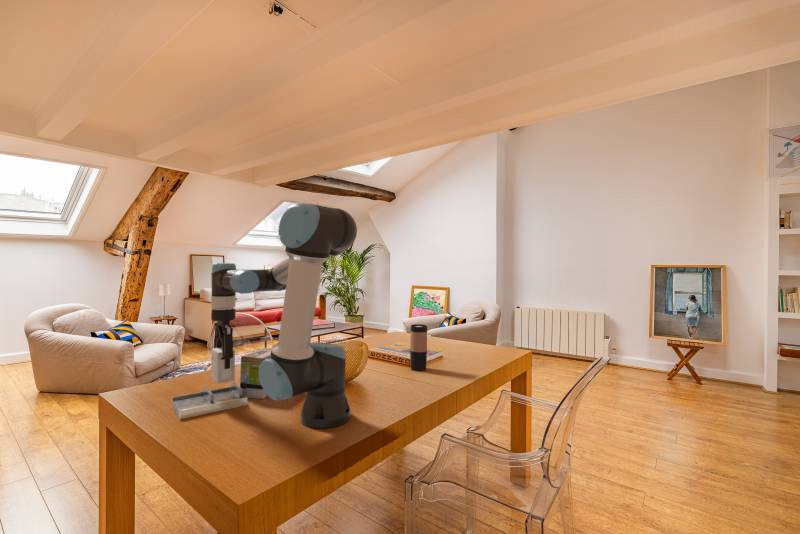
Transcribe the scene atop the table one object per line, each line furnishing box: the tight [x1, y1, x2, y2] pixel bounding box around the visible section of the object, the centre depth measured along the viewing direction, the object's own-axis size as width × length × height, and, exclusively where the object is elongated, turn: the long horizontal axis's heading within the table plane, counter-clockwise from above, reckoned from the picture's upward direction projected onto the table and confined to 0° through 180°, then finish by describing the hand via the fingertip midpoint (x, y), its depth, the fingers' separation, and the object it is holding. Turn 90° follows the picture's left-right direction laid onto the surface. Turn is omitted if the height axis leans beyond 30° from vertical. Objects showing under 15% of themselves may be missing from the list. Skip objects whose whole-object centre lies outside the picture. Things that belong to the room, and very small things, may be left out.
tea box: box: [239, 347, 272, 400], centre depth 143 cm, size 15×10×15 cm, turn 168°
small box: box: [210, 347, 236, 385], centre depth 131 cm, size 8×6×10 cm
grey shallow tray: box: [171, 381, 248, 420], centre depth 129 cm, size 14×20×5 cm
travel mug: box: [409, 323, 428, 372], centre depth 176 cm, size 8×8×20 cm
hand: (222, 374), depth 131 cm, fingers closed on small box, 8 cm apart
